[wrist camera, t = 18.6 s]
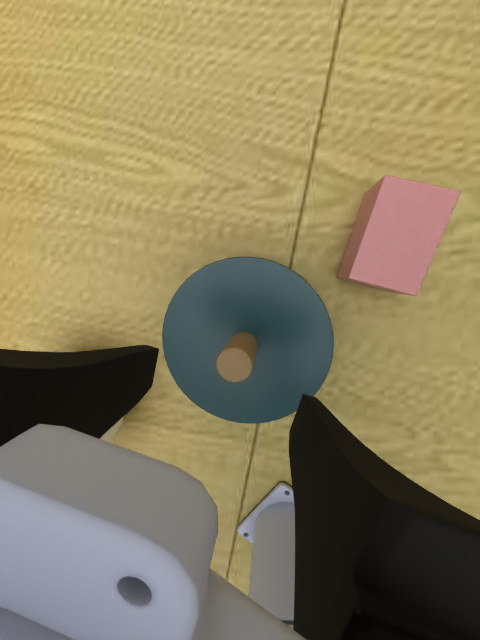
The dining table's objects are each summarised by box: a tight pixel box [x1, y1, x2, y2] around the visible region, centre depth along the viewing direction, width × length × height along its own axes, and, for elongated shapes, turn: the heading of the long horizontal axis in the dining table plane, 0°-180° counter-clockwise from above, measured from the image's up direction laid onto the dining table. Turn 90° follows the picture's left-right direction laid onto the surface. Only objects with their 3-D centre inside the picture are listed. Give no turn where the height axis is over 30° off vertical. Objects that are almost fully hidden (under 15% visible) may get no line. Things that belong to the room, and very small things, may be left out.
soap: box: [337, 175, 461, 296], centre depth 17 cm, size 4×6×3 cm
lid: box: [162, 257, 334, 423], centre depth 17 cm, size 13×13×5 cm
